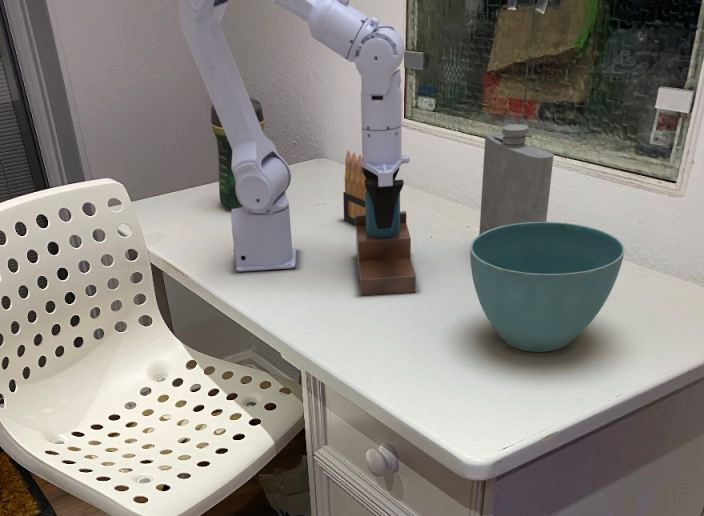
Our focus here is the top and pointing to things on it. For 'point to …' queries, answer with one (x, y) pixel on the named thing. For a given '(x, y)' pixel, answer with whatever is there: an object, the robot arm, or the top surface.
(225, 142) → the coffee jar
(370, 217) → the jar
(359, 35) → the robot arm
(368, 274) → the step shelf
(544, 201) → the hip flask
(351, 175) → the ammunition clip
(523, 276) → the teal bowl
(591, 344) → the top surface
